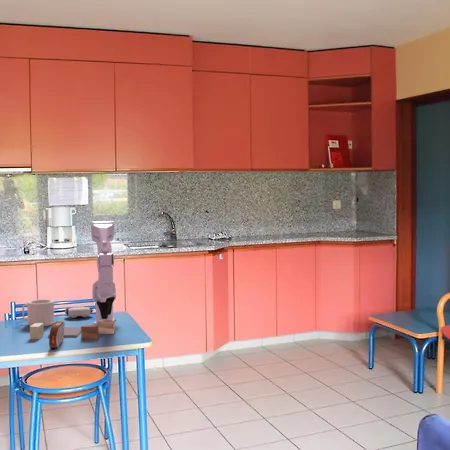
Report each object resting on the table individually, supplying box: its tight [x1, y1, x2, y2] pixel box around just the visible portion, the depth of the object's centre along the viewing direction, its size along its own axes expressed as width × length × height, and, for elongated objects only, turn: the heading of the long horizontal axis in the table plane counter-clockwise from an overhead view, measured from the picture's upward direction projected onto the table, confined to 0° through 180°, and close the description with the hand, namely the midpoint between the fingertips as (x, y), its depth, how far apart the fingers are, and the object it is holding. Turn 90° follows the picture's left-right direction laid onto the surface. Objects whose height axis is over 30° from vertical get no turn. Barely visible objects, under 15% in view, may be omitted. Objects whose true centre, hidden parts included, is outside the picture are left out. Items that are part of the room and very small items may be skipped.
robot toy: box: [64, 305, 94, 319], centre depth 264 cm, size 12×4×15 cm
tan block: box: [98, 319, 116, 335], centre depth 233 cm, size 4×6×5 cm, turn 92°
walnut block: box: [80, 323, 100, 340], centre depth 224 cm, size 4×6×5 cm, turn 92°
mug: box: [21, 298, 55, 327], centre depth 247 cm, size 14×11×10 cm
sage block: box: [29, 323, 45, 340], centre depth 226 cm, size 4×6×5 cm, turn 2°
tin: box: [48, 320, 65, 349], centre depth 214 cm, size 15×3×8 cm, turn 4°
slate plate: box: [48, 326, 81, 338], centre depth 232 cm, size 13×11×1 cm
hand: (106, 316), depth 232 cm, fingers open, 7 cm apart
